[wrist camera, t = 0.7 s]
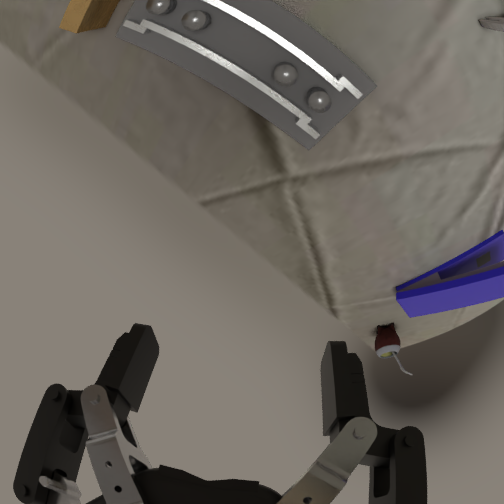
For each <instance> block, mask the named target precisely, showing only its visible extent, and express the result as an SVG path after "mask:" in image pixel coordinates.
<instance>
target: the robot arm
mask: <svg viewBox="0 0 504 504" xmlns="http://www.w3.org/2000/svg"><path fill="white" fill-rule="evenodd" d="M158 355H159V345H158V343H157V340H156V337H155V335H154V332H153V330H152V327H151V326H149V325H143V324H137V323H135V324H134V325H133V326H132V328H131V330H130V332H129V333H126V332H125V333H124V334H123V335H122V336H121V337H120V338H118V339H117V341H116V343H115V345H114V347H113V350H112V351H111V353H110V356H109V357H108V359H107V361H106V363H105V365H104V367H103V369H102V371H101V374H100V375H99V377H98V380H97V381H96V383H95V384H94V385H90V386H88V387H87V388H85V389H84V390H82V391H80V390H79V391H78V390H77V391H76V390H67V389H66V388H65V387H64V386H62V385H61V384H53V385H51V386H50V387H49V388H48V389H47V390H46V392H45V394H44V397H43V399H42V401H41V404H40V406H39V408H38V411H37V413H36V416H35V418H34V421H33V424H32V426H31V429H30V431H29V434H28V437H27V440H26V443H25V446H24V449H23V452H22V455H21V458H20V461H19V465H18V469H17V472H16V476H15V480H14V484H13V489H14V492H15V495H16V497H17V498H18V499H19V500H20V501H21V502H22V503H24V504H81V503H80V500H79V498H80V497H81V492H80V491H79V489H78V487H77V485H76V483H75V482H76V478H77V475H78V470H79V467H80V463H81V460H82V456H83V453H84V449H85V446H86V447H87V450H88V454H89V457H90V460H91V464H92V467H93V470H94V472H95V475H96V478H97V481H98V483H99V486H100V489H101V491H102V494H103V495H101V496H99V497H97V498H95V499H94V500H92V501H90V502H88V503H86V504H330V503H331V502H332V501H333V500H334V498H335V497H336V496H337V495H338V494H339V493H340V491H341V490H342V489H343V487H344V486H345V485H346V483H347V479H348V478H349V476H350V475H351V473H352V472H353V470H354V469H355V468H356V467H357V465H358V464H362V465H367V466H370V483H369V504H427V472H426V457H425V446H424V438H423V434H422V432H421V431H420V430H419V429H418V428H416V427H413V426H407V427H404V428H402V429H401V430H395V429H390V428H385V427H381V426H379V425H377V424H376V423H375V422H374V421H373V420H372V418H371V416H370V413H369V406H368V398H367V392H366V385H365V379H364V375H363V367H362V362H361V361H360V359H359V358H358V356H357V355H356V353H348V352H347V346H346V342H344V341H328V343H327V346H326V349H325V352H324V355H323V358H322V362H321V387H322V410H323V436H330V444H329V445H328V446H327V448H326V449H325V450H324V451H323V453H322V454H321V455H320V456H319V457H318V458H317V460H316V461H315V462H314V463H313V464H312V465H311V466H310V468H309V469H308V470H307V471H306V472H305V473H304V474H303V475H302V476H301V477H300V478H299V479H298V480H297V481H296V482H295V483H294V484H293V485H292V486H291V487H290V488H289V489H288V490H287V491H286V492H285V493H284V494H283V495H282V496H281V495H280V494H279V493H278V492H276V491H275V490H273V489H271V488H269V487H266V486H264V485H260V484H259V482H258V481H247V480H238V479H228V480H215V481H206V480H203V479H201V478H199V477H196V476H194V475H192V474H189V473H187V472H185V471H183V470H179V469H175V468H171V467H167V466H163V465H160V467H159V468H152V466H151V464H150V462H149V460H148V458H147V457H146V455H145V454H144V453H143V451H142V450H141V448H140V446H139V443H138V441H137V438H136V436H135V433H134V431H133V428H132V425H131V423H130V420H129V417H128V414H129V411H130V410H131V411H134V412H138V409H139V407H140V404H141V401H142V398H143V396H144V393H145V390H146V387H147V385H148V382H149V379H150V377H151V374H152V371H153V369H154V366H155V363H156V361H157V358H158ZM88 436H89V439H88Z"/></svg>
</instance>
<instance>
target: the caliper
mask: <svg viewBox="0 0 504 504" xmlns="http://www.w3.org/2000/svg"><path fill="white" fill-rule="evenodd" d="M485 18H486V20H484V19H479V21H480V23H481V25H482V27H485V28H489V29H493V30H497V31H503V32H504V18H502V17H485Z"/></svg>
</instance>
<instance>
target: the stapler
mask: <svg viewBox="0 0 504 504" xmlns="http://www.w3.org/2000/svg"><path fill="white" fill-rule="evenodd" d="M502 260H504V232H503V230H501V231H500V232H498V233H496V234H495V235H493V236H491V237H490V238H488V239H487V240H485V241H483V242H482V243H480V244H478V245H476V246H475V247H473V248H471V249H470V250H468V251H466V252H464V253H463V254H461V255H459V256H457V257H455V258H453V259H452V260H450V261H448V262H446V263H444V264H442V265H440V266H439V267H437V268H435V269H433V270H431V271H429V272H427V273H425V274H423V275H421V276H419V277H417V278H415V279H413V280H411V281H409V282H406V283H404V284H402V285H400V286H398V287H396V290H397V293H396V300H397V301H398V303H399V304H400V305H401V307H402V308H403V309H404V311H405V312H406V313H407V315H408V316H409V317H410V318H411V317H416V316H422V315H428V314H433V313H438V312H443V311H448V310H453V309H457V308H462V307H466V306H471V305H475V304H479V303H483V302H487V301H491V300H495V299H498V298H502V297H504V261H502ZM501 261H502V262H501Z"/></svg>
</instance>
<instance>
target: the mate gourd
mask: <svg viewBox="0 0 504 504" xmlns="http://www.w3.org/2000/svg"><path fill="white" fill-rule="evenodd" d="M393 325H394V323H391V324H389V325H387V326H386V327H384V326H380V325H378V326H377V328H378V332H377V334H378V335H377V337H376V340H375V351H376V354H377V355H378V356H379V357H381V358H389V357H393V356H394V357H395V358H396V360H397V362H398V364H399V366H400V368H401V370H403V371H404V372H405V373H407V374H410V375H413V374H411V373H409V372H408V371H406V370H405V369H404V367H403V366H402V365H401V363H400V361H399V359H398V358H397V356H396V354H398V352H399V350H400V339H399V337H398V335H397V333H396V331H395V329H394V326H393Z"/></svg>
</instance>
